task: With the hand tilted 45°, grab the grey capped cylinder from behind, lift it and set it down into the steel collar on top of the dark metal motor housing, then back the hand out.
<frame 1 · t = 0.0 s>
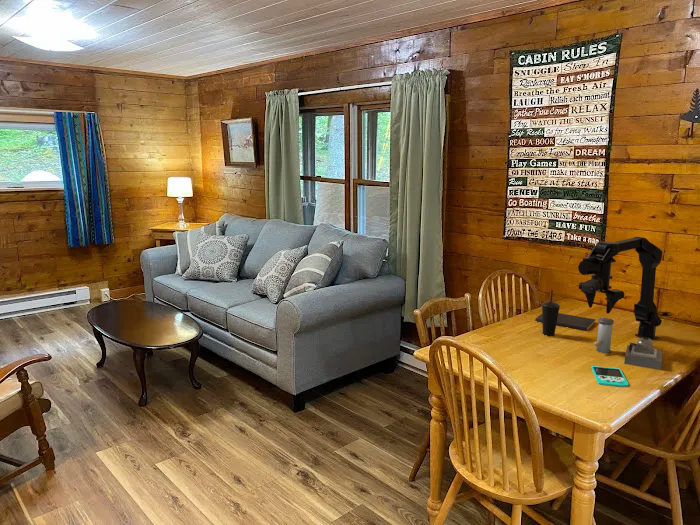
hand: (598, 310, 221), 15 cm above the table, tool pointing down, fingers open, 9 cm apart
grey capped cylinder: (602, 351, 216), on the table
handheld game console: (609, 379, 190), on the table
hardcover book: (564, 323, 254), on the table
motor housing: (642, 361, 205), on the table
drinking cup: (548, 335, 236), on the table
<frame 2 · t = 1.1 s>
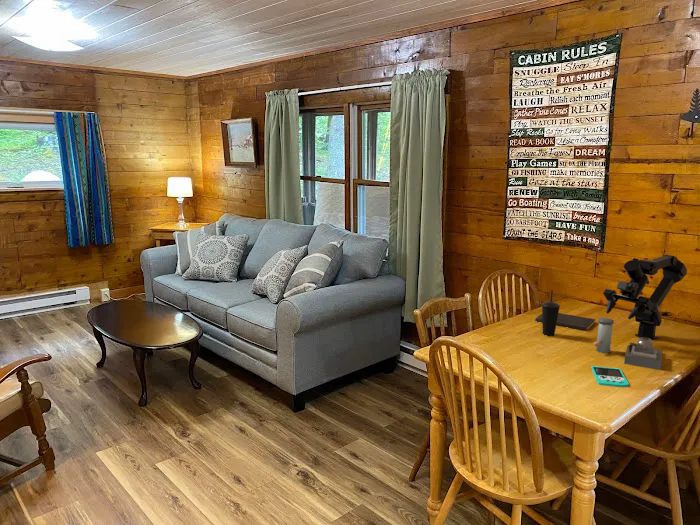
hand: (617, 315, 218), 13 cm above the table, tool tilted 45°, fingers open, 9 cm apart
nothing on the table moved.
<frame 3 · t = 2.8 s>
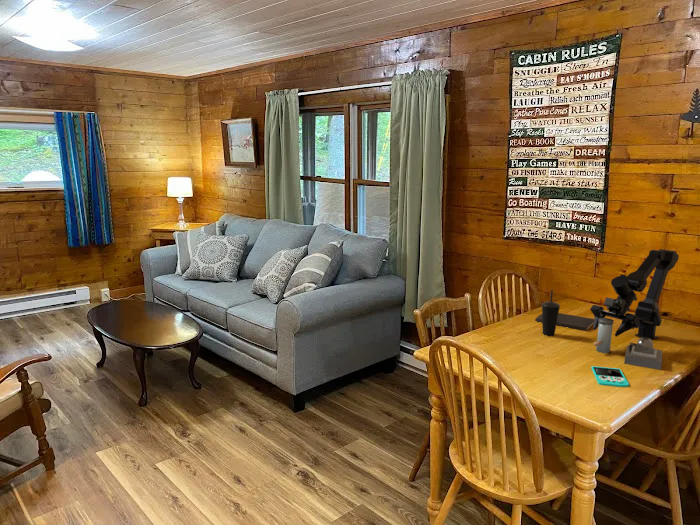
hand: (604, 332, 214), 8 cm above the table, tool tilted 45°, fingers open, 9 cm apart
nothing on the table moved.
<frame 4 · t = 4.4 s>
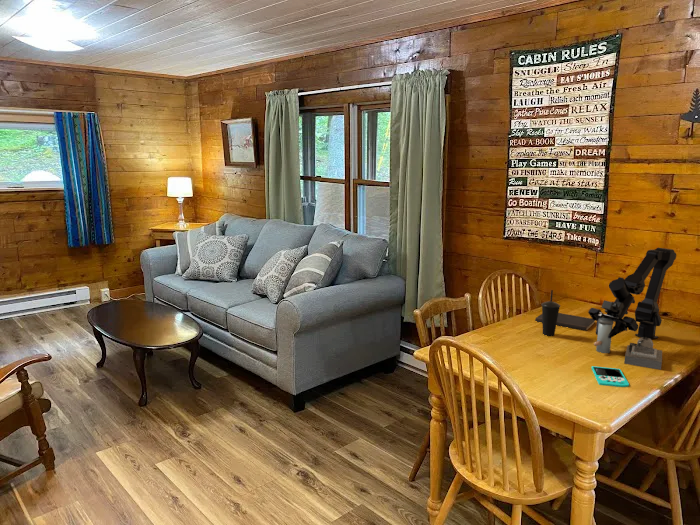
hand: (602, 335, 214), 7 cm above the table, tool tilted 45°, fingers closed on grey capped cylinder, 5 cm apart
grey capped cylinder: (602, 351, 216), on the table, touching gripper
everything else where it was.
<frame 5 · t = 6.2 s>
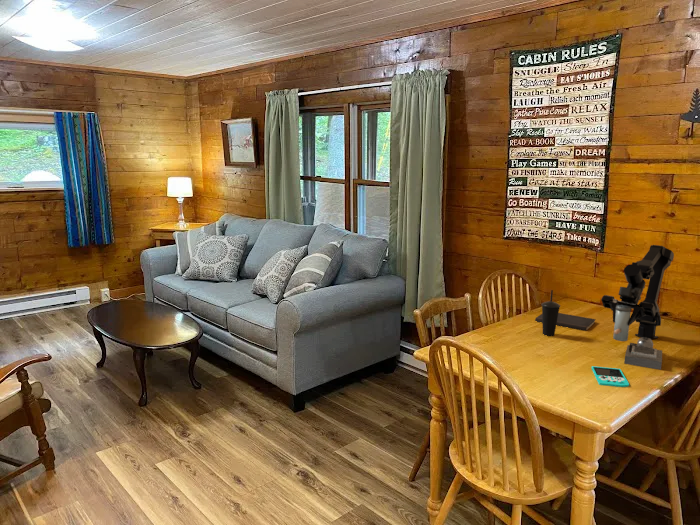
hand: (620, 323, 207), 13 cm above the table, tool tilted 45°, fingers closed on grey capped cylinder, 5 cm apart
grey capped cylinder: (620, 338, 209), point 7 cm above the table, touching gripper
everything else where it was.
when the fingers open (10 cm above the table, at t = 8.3 s): grey capped cylinder stays where it is, resting on motor housing.
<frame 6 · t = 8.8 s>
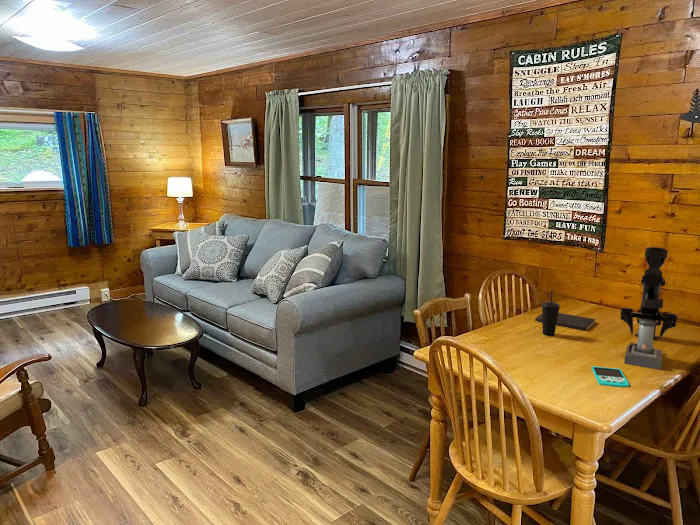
hand: (645, 336, 202), 10 cm above the table, tool tilted 45°, fingers open, 9 cm apart
grey capped cylinder: (643, 353, 204), point 3 cm above the table, touching motor housing
everything else where it was.
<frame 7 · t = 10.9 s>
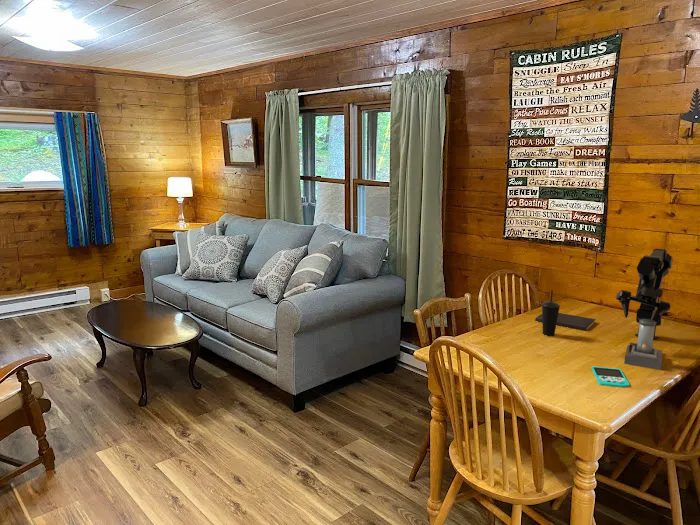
hand: (638, 321, 213), 13 cm above the table, tool tilted 35°, fingers open, 9 cm apart
nothing on the table moved.
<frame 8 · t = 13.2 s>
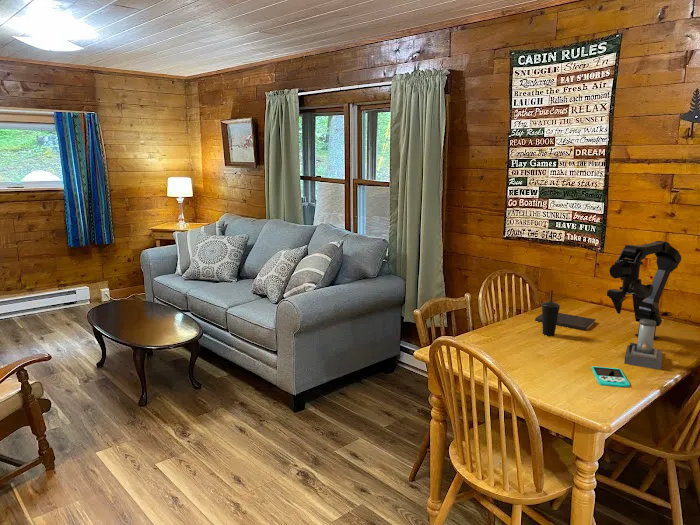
hand: (627, 312, 224), 13 cm above the table, tool pointing down, fingers open, 9 cm apart
nothing on the table moved.
at the end: grey capped cylinder 0.1 cm off-centre on the motor housing, point 3.0 cm above the motor housing's base; grey capped cylinder tilted 1°; the gripper is holding nothing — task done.
